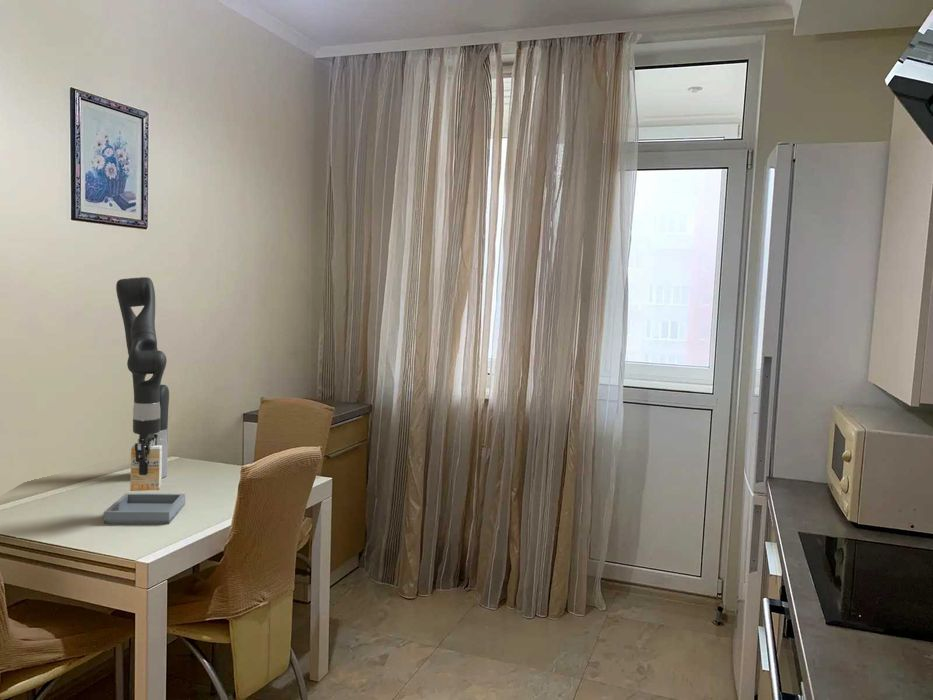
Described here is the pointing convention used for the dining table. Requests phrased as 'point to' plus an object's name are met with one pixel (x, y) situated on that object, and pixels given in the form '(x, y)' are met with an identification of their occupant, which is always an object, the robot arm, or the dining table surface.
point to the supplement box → (154, 470)
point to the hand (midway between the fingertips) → (146, 471)
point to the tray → (144, 509)
